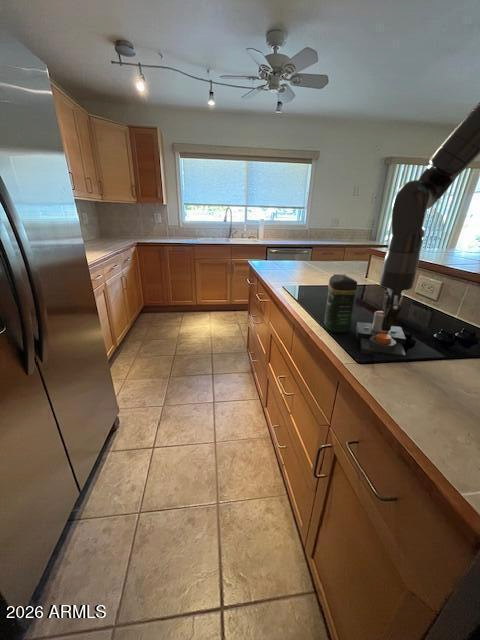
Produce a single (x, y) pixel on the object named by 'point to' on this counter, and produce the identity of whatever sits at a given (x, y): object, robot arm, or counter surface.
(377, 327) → the timer knob
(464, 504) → the counter surface
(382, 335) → the power button
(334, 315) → the coffee jar
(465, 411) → the counter surface
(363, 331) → the fryer panel
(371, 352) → the power block
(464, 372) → the counter surface
